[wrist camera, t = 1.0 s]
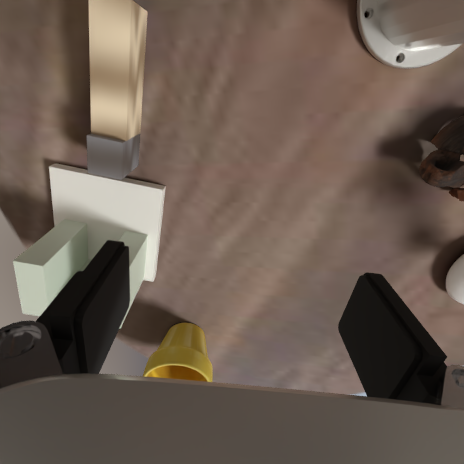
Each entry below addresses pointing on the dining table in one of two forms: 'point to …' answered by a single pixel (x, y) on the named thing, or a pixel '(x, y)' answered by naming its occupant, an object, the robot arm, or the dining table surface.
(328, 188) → the dining table surface
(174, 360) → the plant pot
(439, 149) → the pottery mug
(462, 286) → the flower in vase
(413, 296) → the dining table surface
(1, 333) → the robot arm
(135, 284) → the slotted block on base
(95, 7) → the rail
